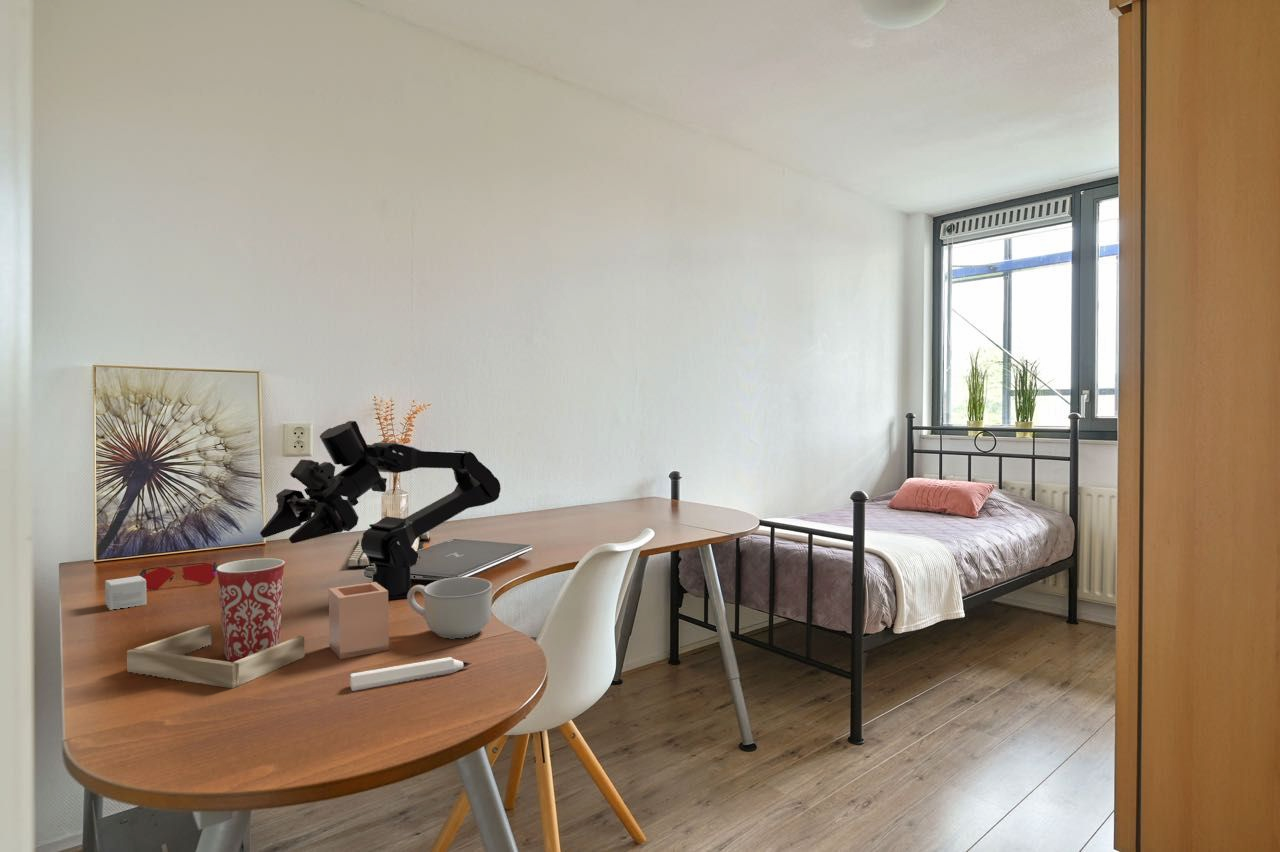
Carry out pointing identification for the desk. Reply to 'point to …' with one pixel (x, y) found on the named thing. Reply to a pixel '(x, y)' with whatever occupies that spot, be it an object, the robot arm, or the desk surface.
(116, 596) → the small box
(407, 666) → the marker
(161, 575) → the glasses
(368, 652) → the terracotta pot
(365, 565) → the mechanical keyboard
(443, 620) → the teacup
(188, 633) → the bay
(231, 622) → the mug
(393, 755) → the desk surface
